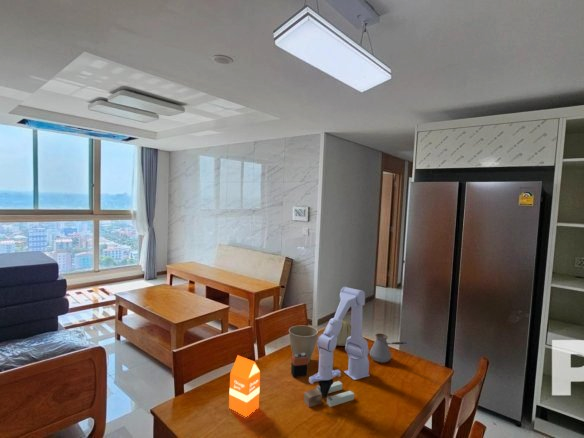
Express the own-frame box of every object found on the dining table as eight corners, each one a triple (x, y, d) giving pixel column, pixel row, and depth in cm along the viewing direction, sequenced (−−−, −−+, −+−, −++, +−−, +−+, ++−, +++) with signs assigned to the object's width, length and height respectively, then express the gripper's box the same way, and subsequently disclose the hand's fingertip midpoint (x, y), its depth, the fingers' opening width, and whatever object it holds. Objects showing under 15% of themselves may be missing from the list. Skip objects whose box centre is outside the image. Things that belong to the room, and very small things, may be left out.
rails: (338, 386, 141) (339, 379, 141) (353, 399, 132) (354, 392, 132) (316, 392, 135) (316, 385, 135) (330, 406, 126) (330, 399, 126)
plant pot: (322, 361, 163) (323, 330, 163) (304, 371, 152) (305, 339, 152) (300, 351, 173) (301, 322, 173) (281, 360, 162) (282, 330, 161)
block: (316, 398, 132) (316, 388, 132) (321, 403, 128) (321, 394, 128) (303, 401, 129) (304, 392, 129) (308, 407, 125) (309, 397, 125)
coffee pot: (364, 357, 170) (366, 329, 169) (378, 352, 176) (380, 326, 176) (397, 375, 152) (399, 345, 152) (412, 369, 159) (414, 340, 158)
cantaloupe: (326, 348, 178) (327, 322, 177) (327, 338, 192) (328, 314, 192) (352, 351, 176) (354, 325, 175) (352, 341, 190) (353, 316, 189)
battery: (307, 376, 148) (308, 355, 148) (293, 378, 146) (294, 356, 146) (304, 371, 152) (305, 351, 152) (290, 373, 150) (291, 352, 150)
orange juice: (246, 418, 117) (248, 365, 116) (228, 409, 122) (230, 358, 121) (259, 407, 124) (261, 357, 123) (241, 399, 128) (243, 351, 128)
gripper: (334, 356, 137) (332, 386, 138) (305, 362, 130) (304, 395, 131) (344, 363, 131) (342, 395, 132) (314, 371, 124) (313, 404, 125)
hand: (324, 396), depth 131 cm, fingers closed
